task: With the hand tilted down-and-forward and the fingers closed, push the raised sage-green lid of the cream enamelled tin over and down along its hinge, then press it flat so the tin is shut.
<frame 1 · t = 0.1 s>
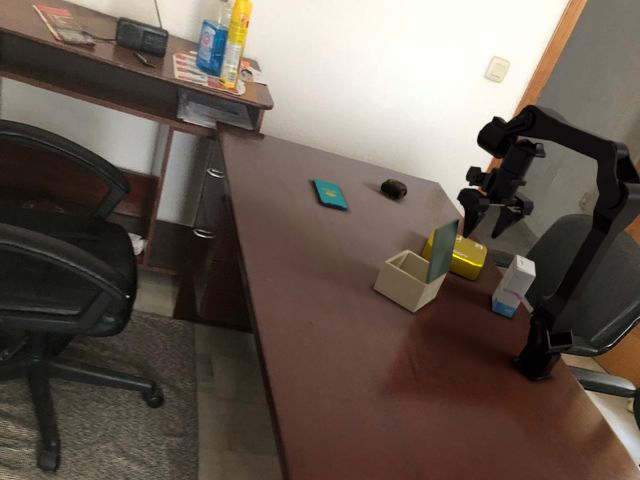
hand: (478, 237, 145), 15 cm above the table, tool pointing down, fingers open, 9 cm apart
lid: (442, 251, 138), point 13 cm above the table, hinge at 75.0°
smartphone: (329, 196, 176), on the table
tin: (404, 293, 147), on the table
tape measure: (392, 197, 191), on the table
ink box: (501, 307, 158), on the table
element tile: (451, 260, 170), on the table
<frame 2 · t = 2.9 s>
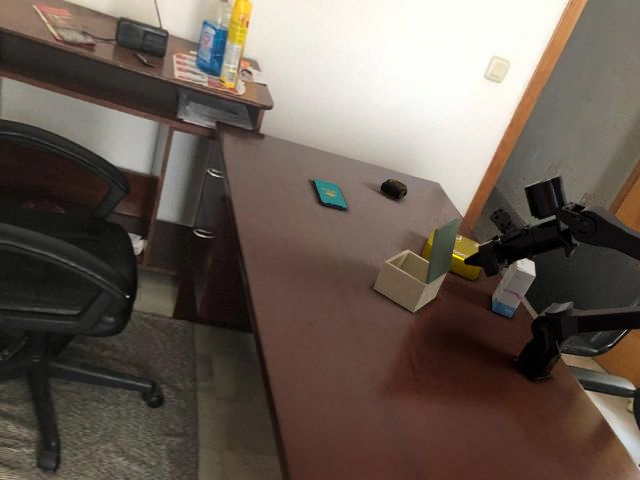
hand: (464, 261, 137), 13 cm above the table, tool tilted 45°, fingers closed
nothing on the table moved.
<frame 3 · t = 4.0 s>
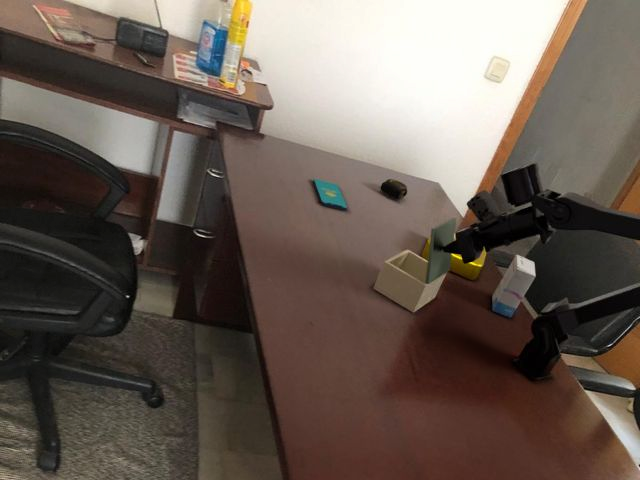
hand: (443, 249, 138), 13 cm above the table, tool tilted 45°, fingers closed, pressing on lid
lid: (441, 250, 138), point 13 cm above the table, hinge at 71.4°, touching gripper
everything else where it was.
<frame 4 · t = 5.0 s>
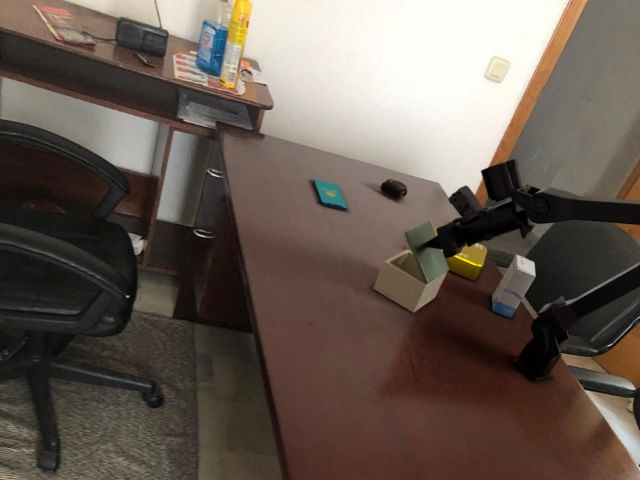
hand: (426, 244, 140), 12 cm above the table, tool tilted 45°, fingers closed, pressing on lid
lid: (427, 252, 140), point 11 cm above the table, hinge at 40.2°, touching gripper
everything else where it was.
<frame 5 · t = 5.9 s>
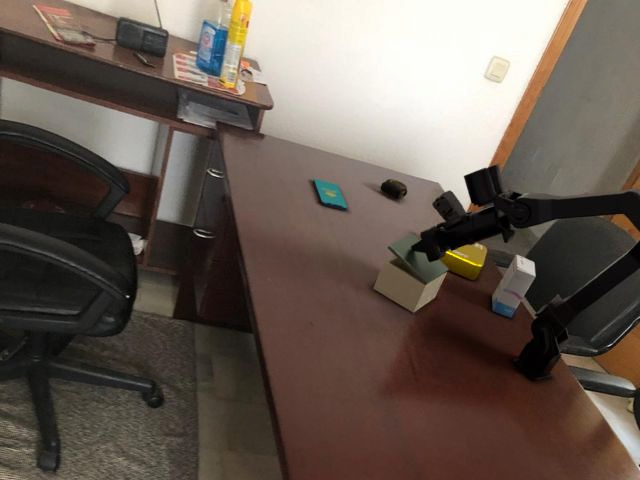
hand: (411, 248, 142), 10 cm above the table, tool tilted 45°, fingers closed, pressing on lid
lid: (418, 258, 142), point 9 cm above the table, hinge at 14.3°, touching gripper
everything else where it was.
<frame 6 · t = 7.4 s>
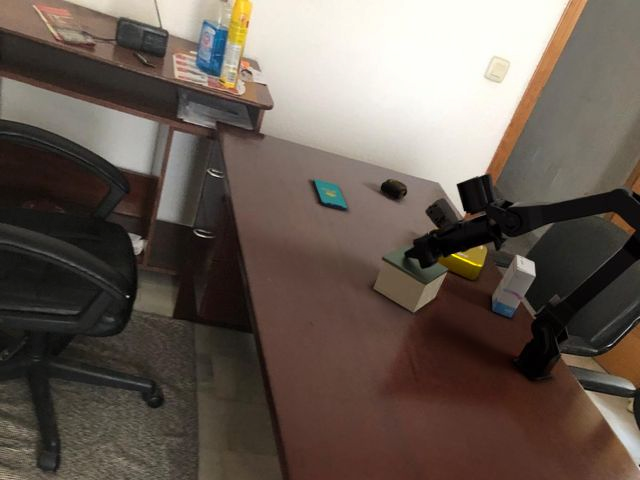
hand: (405, 254, 143), 8 cm above the table, tool tilted 45°, fingers closed
lid: (415, 264, 143), point 7 cm above the table, hinge at -0.3°, touching tin
everything else where it was.
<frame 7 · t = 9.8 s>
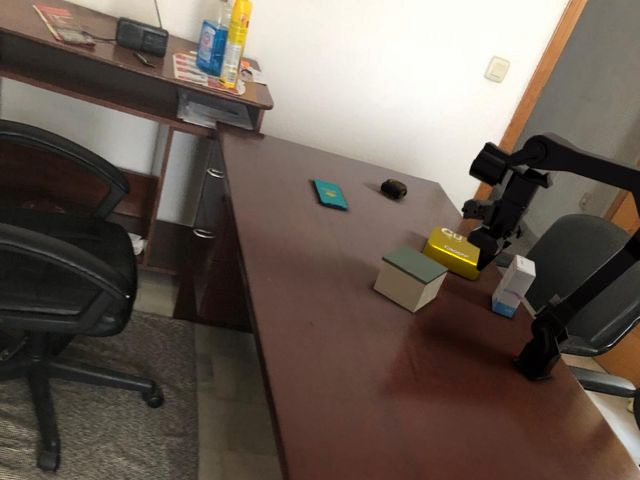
hand: (478, 270, 136), 13 cm above the table, tool pointing down, fingers closed
nothing on the table moved.
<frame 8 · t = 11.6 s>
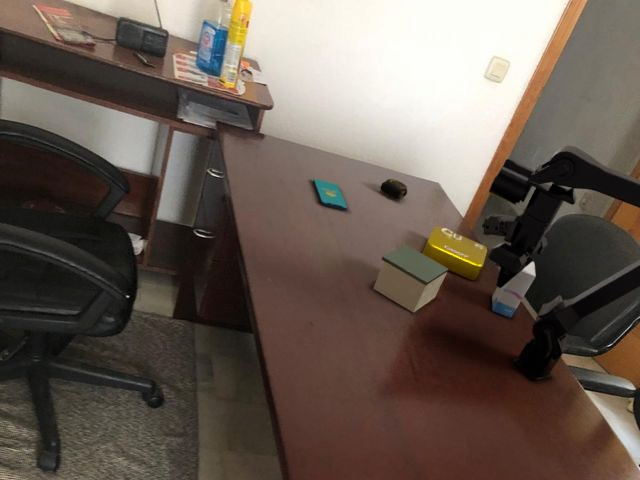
hand: (498, 286, 133), 13 cm above the table, tool pointing down, fingers closed
nothing on the table moved.
at the end: lid at +0° (first picture: +75°) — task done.
